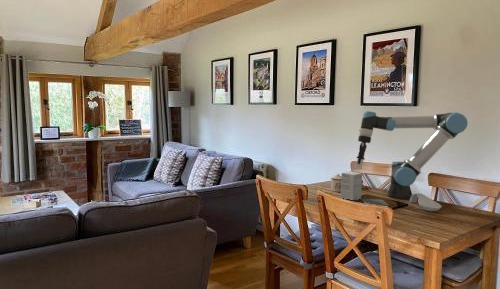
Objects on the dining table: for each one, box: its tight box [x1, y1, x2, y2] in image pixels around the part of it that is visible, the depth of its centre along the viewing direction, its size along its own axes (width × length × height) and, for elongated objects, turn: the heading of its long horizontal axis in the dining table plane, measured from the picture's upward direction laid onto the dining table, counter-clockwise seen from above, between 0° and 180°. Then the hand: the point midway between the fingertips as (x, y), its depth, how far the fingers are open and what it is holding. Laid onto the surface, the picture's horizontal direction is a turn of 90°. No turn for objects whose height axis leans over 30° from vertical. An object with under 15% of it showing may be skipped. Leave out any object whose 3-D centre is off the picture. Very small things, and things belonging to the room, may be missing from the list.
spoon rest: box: [409, 193, 442, 212], centre depth 223 cm, size 24×12×7 cm, turn 8°
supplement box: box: [340, 170, 363, 201], centre depth 240 cm, size 10×9×17 cm
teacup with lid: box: [330, 173, 342, 193], centre depth 265 cm, size 12×9×12 cm
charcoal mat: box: [360, 198, 390, 207], centre depth 230 cm, size 13×13×1 cm
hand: (358, 169), depth 238 cm, fingers open, 13 cm apart
